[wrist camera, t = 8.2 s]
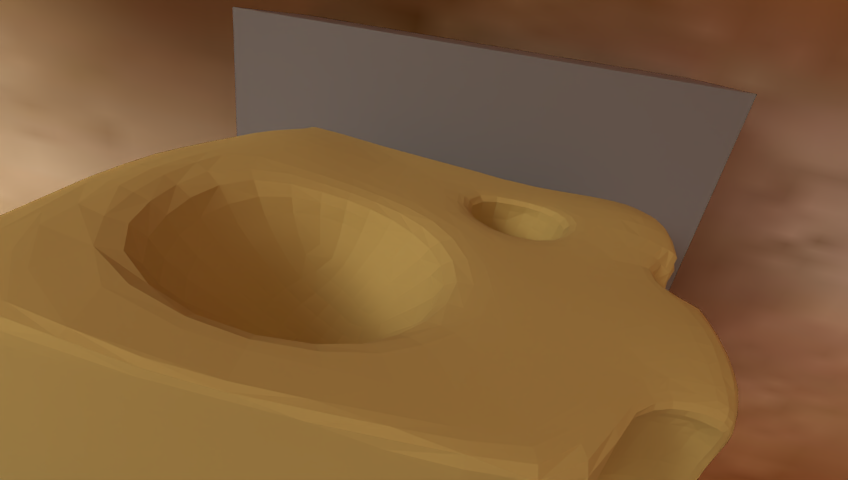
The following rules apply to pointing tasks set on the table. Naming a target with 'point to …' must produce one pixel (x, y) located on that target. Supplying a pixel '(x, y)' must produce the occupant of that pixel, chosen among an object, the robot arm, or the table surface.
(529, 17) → the table surface
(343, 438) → the cheese
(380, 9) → the table surface
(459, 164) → the charcoal block
